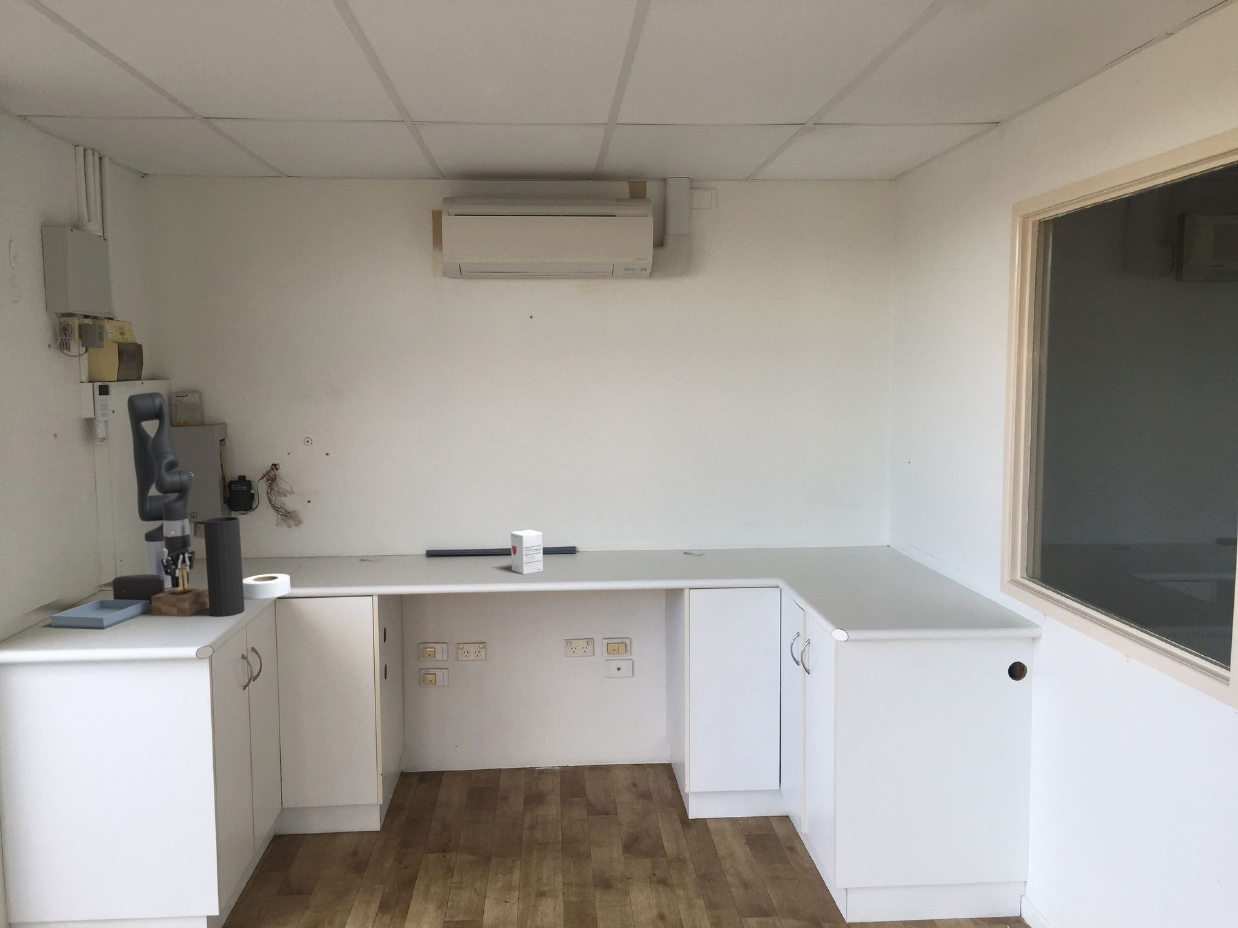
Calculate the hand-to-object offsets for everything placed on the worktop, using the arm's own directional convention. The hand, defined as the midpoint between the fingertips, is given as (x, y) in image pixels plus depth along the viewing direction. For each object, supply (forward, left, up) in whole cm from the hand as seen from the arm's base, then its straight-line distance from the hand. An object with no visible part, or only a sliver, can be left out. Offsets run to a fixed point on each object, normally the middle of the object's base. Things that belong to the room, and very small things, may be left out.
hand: (180, 585), depth 284 cm
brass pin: (0, 0, -8) cm, 8 cm away
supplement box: (-68, +96, -9) cm, 118 cm away
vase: (0, +16, -8) cm, 18 cm away
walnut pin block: (0, 0, -8) cm, 8 cm away
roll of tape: (-24, +15, -9) cm, 30 cm away
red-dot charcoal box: (-6, -20, -9) cm, 23 cm away
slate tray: (+12, -19, -8) cm, 24 cm away
